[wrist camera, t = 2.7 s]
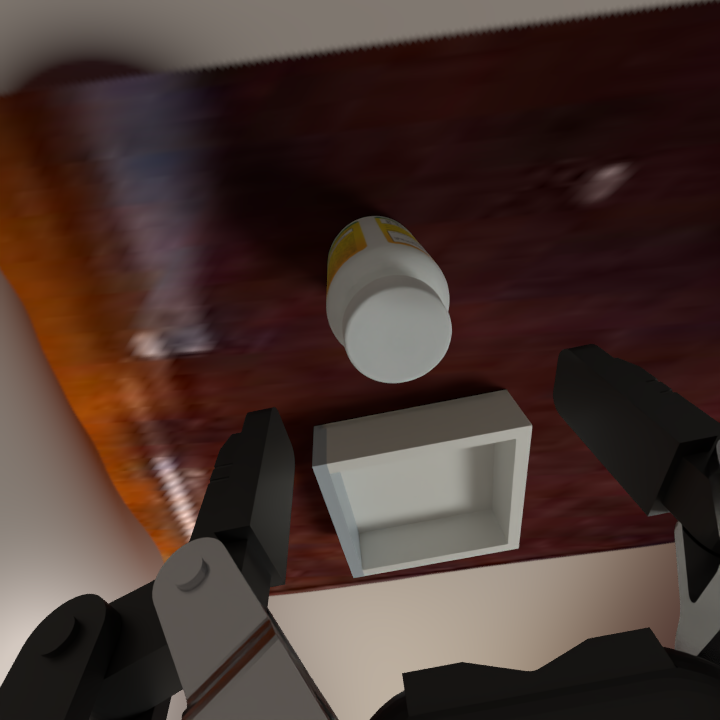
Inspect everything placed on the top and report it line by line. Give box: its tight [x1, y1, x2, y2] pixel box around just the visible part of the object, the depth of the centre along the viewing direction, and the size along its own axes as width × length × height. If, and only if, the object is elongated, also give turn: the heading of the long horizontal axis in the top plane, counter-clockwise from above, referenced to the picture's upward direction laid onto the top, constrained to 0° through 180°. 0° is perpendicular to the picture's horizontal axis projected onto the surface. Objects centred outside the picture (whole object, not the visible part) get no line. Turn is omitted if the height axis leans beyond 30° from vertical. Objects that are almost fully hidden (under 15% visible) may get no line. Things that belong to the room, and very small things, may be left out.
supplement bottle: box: [326, 216, 452, 383], centre depth 17 cm, size 5×5×10 cm
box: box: [312, 390, 532, 578], centre depth 29 cm, size 15×15×4 cm
